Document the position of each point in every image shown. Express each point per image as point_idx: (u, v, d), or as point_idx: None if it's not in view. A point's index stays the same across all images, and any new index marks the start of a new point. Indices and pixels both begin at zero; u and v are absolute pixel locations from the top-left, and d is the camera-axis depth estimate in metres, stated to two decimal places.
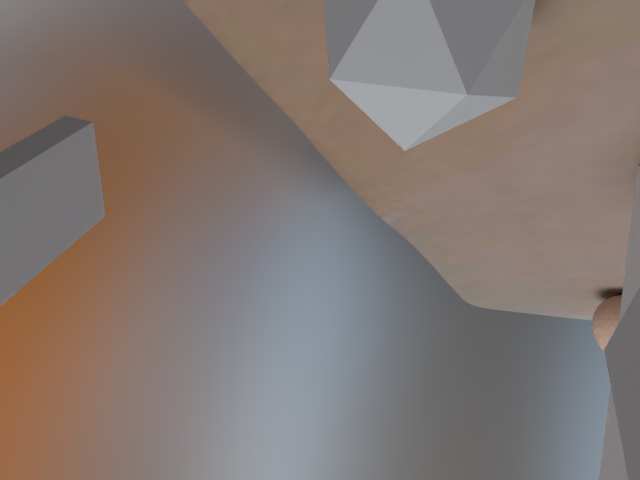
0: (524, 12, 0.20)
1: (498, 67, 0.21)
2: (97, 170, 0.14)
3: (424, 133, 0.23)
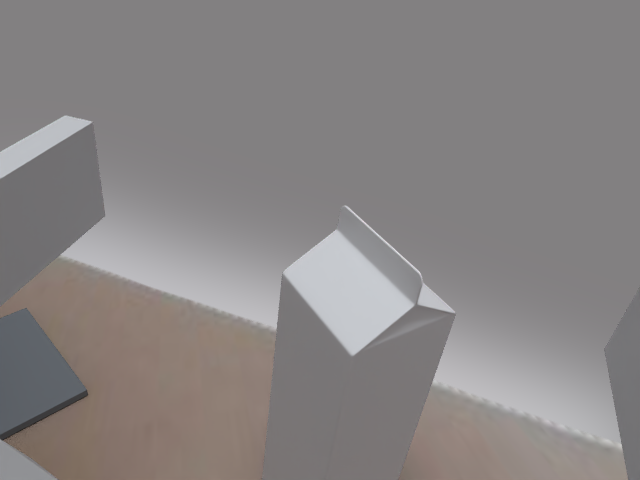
0: (31, 459, 0.34)
1: (24, 455, 0.32)
2: (97, 169, 0.14)
3: None
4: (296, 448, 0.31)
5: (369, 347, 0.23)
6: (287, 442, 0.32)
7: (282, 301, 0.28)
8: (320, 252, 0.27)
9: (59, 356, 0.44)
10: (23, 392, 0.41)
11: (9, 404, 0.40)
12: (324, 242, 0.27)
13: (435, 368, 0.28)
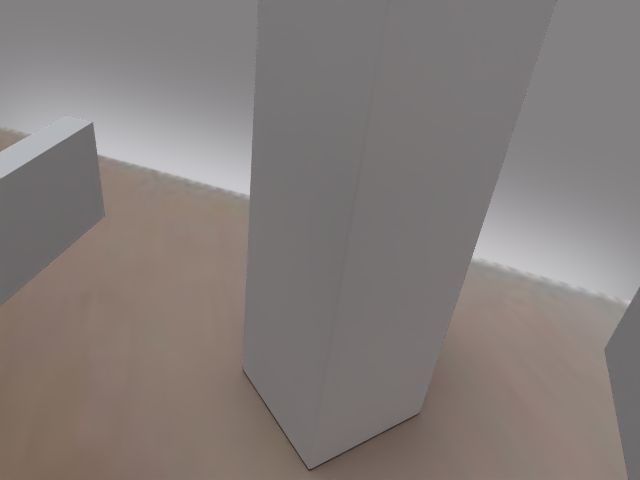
0: None
1: None
2: (97, 169, 0.14)
3: None
4: (291, 257, 0.19)
5: None
6: (277, 256, 0.20)
7: None
8: None
9: None
10: None
11: None
12: None
13: (525, 87, 0.17)
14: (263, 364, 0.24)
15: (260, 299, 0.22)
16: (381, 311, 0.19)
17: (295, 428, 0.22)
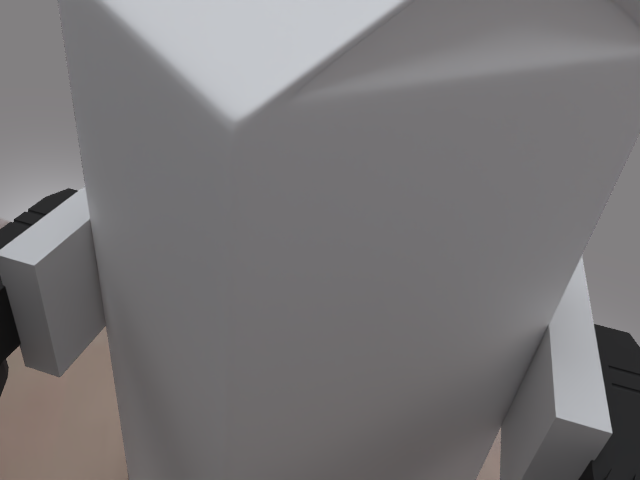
0: None
1: None
2: None
3: None
4: None
5: (333, 95, 0.04)
6: None
7: (70, 75, 0.09)
8: None
9: None
10: None
11: None
12: None
13: (561, 291, 0.09)
14: None
15: None
16: None
17: None
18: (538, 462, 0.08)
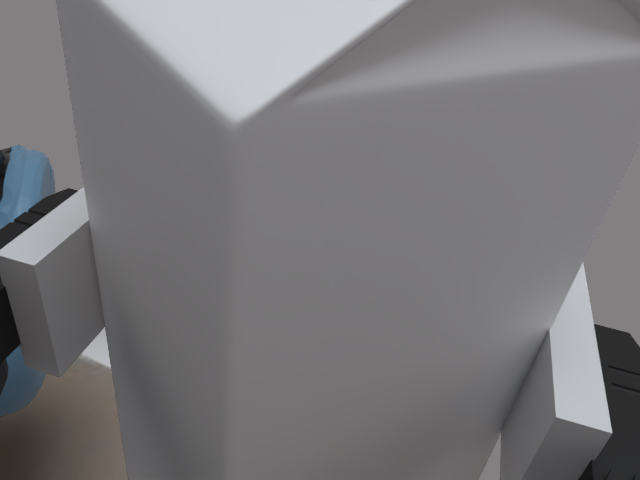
0: None
1: None
2: None
3: None
4: None
5: (334, 95, 0.04)
6: None
7: (69, 75, 0.09)
8: None
9: None
10: None
11: None
12: None
13: (564, 293, 0.09)
14: None
15: None
16: None
17: None
18: (538, 462, 0.08)
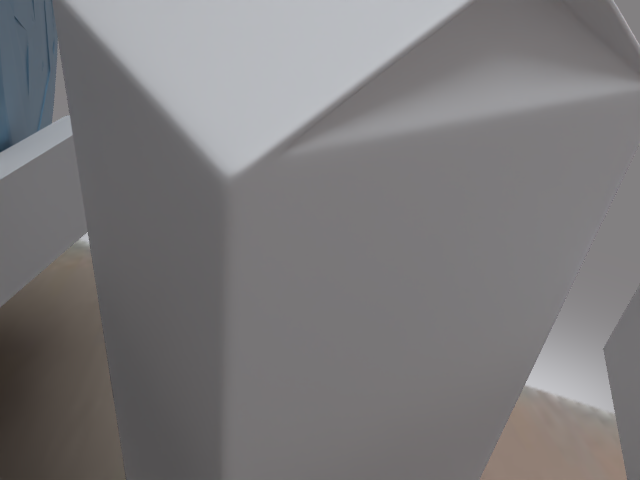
0: None
1: None
2: None
3: None
4: None
5: (323, 147, 0.04)
6: None
7: (69, 102, 0.09)
8: None
9: None
10: None
11: None
12: None
13: (555, 314, 0.09)
14: None
15: None
16: None
17: None
18: None
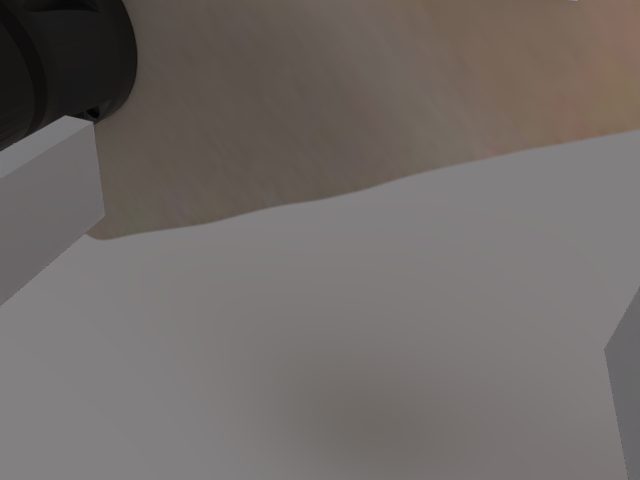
0: None
1: None
2: (97, 170, 0.14)
3: None
4: None
5: None
6: None
7: None
8: None
9: None
10: None
11: None
12: None
13: None
14: None
15: None
16: None
17: None
18: None
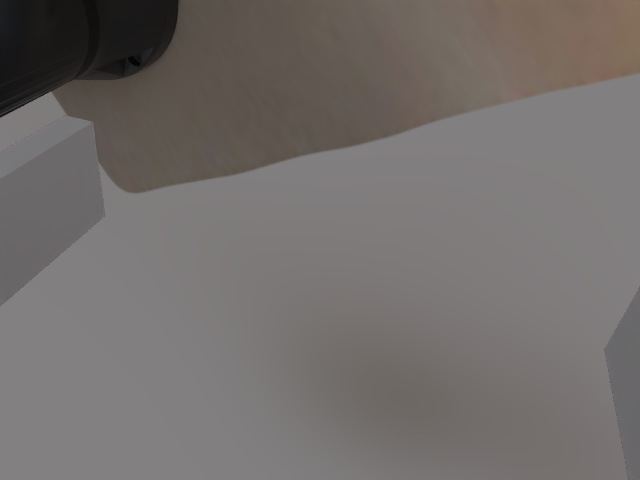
0: None
1: None
2: (97, 170, 0.14)
3: None
4: None
5: None
6: None
7: None
8: None
9: None
10: None
11: None
12: None
13: None
14: None
15: None
16: None
17: None
18: None
